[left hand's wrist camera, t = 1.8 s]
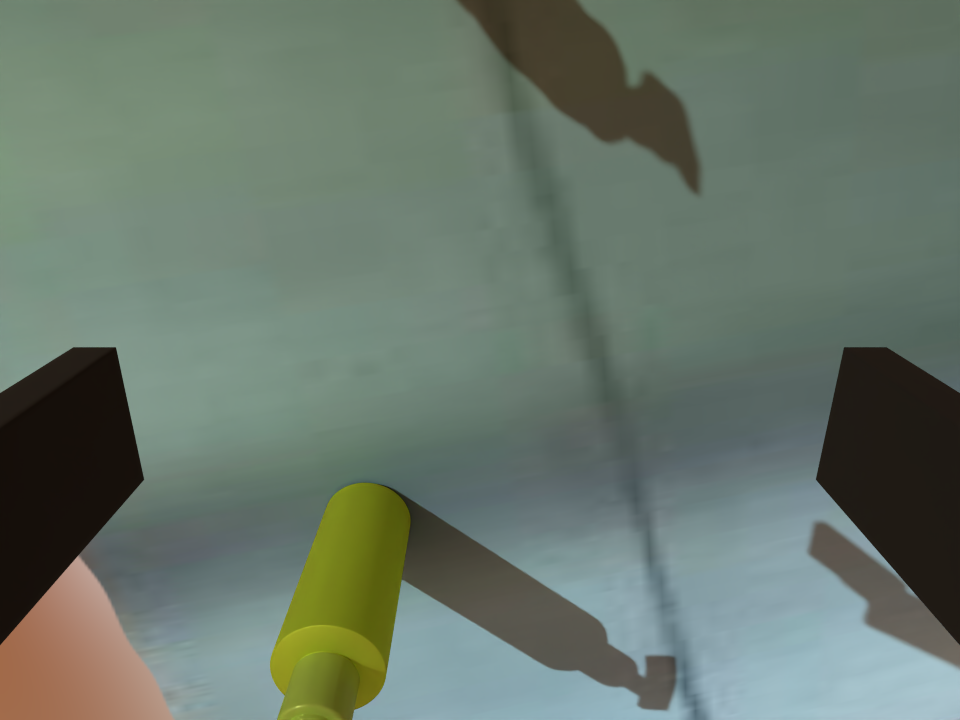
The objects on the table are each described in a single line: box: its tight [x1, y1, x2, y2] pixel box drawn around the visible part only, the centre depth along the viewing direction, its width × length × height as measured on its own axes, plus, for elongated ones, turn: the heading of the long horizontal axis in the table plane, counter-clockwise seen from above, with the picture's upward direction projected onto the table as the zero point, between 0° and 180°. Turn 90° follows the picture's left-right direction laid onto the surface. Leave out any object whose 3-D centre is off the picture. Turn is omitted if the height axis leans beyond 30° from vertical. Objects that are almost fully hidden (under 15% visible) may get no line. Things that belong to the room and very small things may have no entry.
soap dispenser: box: [270, 483, 411, 720], centre depth 37 cm, size 6×7×20 cm
